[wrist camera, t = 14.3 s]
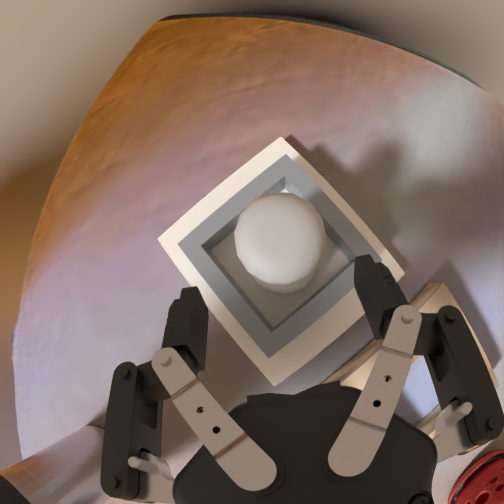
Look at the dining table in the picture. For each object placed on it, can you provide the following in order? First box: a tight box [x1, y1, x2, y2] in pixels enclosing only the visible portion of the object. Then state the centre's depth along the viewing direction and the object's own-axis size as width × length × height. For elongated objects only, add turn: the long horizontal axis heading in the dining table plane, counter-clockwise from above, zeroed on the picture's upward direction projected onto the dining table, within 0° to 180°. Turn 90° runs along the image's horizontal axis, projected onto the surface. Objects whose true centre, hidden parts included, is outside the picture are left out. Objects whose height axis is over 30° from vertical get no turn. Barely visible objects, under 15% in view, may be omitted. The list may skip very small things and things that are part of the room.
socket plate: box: [158, 137, 405, 387], centre depth 24 cm, size 16×18×4 cm
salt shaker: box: [234, 192, 327, 295], centre depth 18 cm, size 6×6×13 cm
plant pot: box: [448, 450, 504, 504], centre depth 12 cm, size 13×13×12 cm
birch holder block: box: [322, 282, 499, 439], centre depth 21 cm, size 16×16×3 cm
